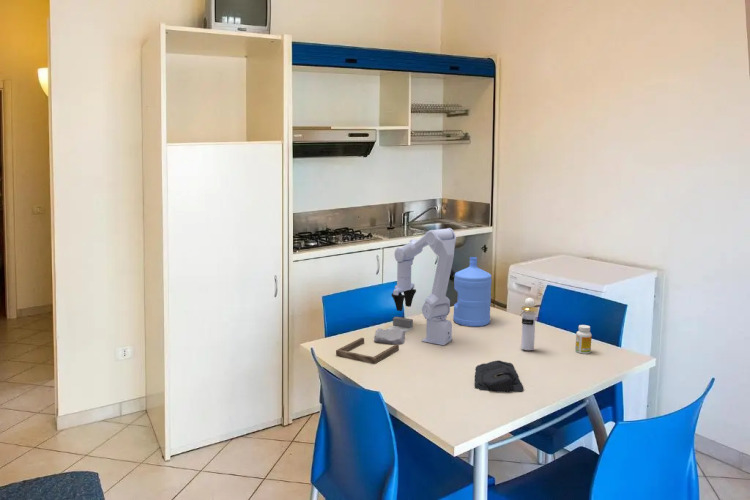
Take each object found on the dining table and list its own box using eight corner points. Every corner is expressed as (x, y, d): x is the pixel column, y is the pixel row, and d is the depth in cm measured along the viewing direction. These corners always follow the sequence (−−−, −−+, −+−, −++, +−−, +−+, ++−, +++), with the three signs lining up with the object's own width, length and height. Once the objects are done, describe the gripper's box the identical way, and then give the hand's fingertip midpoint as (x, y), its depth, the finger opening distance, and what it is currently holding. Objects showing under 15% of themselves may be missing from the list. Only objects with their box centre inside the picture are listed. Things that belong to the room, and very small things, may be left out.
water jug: (497, 321, 272) (499, 257, 267) (476, 329, 261) (478, 262, 256) (467, 314, 282) (469, 252, 277) (445, 322, 271) (447, 257, 266)
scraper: (412, 329, 262) (412, 319, 261) (403, 334, 255) (403, 324, 255) (395, 326, 266) (395, 316, 266) (385, 331, 259) (386, 321, 259)
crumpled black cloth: (519, 369, 217) (519, 356, 217) (524, 395, 196) (524, 380, 195) (473, 367, 220) (474, 354, 219) (474, 392, 198) (474, 377, 197)
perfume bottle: (521, 346, 240) (523, 295, 236) (536, 348, 237) (539, 296, 234) (518, 351, 234) (520, 298, 231) (533, 353, 232) (536, 300, 228)
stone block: (404, 349, 242) (405, 336, 252) (403, 338, 241) (405, 325, 250) (373, 349, 244) (375, 336, 253) (372, 338, 242) (374, 325, 251)
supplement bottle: (593, 351, 234) (594, 326, 233) (586, 355, 230) (588, 329, 229) (579, 348, 238) (580, 323, 236) (572, 351, 234) (574, 326, 232)
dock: (398, 350, 236) (398, 344, 235) (374, 364, 221) (374, 358, 221) (361, 342, 244) (361, 337, 244) (336, 355, 230) (336, 350, 229)
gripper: (404, 272, 268) (403, 303, 271) (386, 278, 256) (386, 311, 258) (419, 273, 264) (418, 305, 267) (402, 280, 252) (401, 313, 255)
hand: (403, 308), depth 262 cm, fingers open, 7 cm apart
